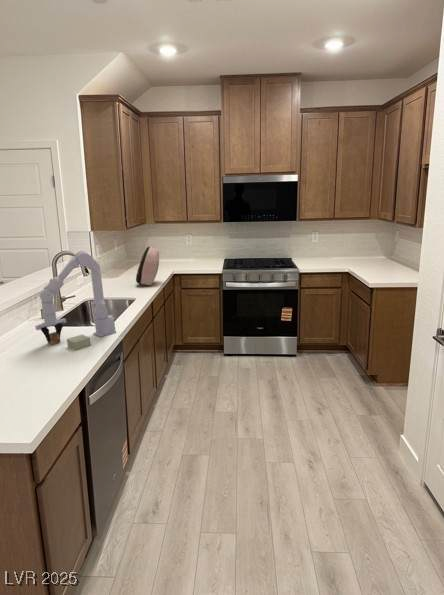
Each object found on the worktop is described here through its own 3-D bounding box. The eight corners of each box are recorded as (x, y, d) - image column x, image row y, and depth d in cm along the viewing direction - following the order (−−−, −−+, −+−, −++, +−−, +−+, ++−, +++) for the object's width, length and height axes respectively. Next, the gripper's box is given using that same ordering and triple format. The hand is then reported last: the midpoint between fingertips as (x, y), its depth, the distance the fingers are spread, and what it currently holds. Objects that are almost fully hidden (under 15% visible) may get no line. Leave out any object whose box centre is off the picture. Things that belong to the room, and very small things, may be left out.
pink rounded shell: (138, 282, 337) (134, 245, 329) (162, 280, 339) (158, 244, 331) (135, 288, 316) (131, 249, 308) (161, 286, 318) (157, 247, 310)
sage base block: (83, 341, 205) (82, 334, 204) (91, 345, 200) (89, 337, 199) (67, 346, 200) (66, 338, 199) (75, 350, 194) (74, 342, 193)
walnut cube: (56, 340, 209) (55, 331, 208) (60, 342, 206) (59, 333, 205) (47, 342, 206) (46, 334, 205) (51, 344, 203) (50, 336, 202)
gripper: (60, 309, 210) (64, 334, 213) (31, 316, 200) (35, 342, 203) (66, 311, 205) (70, 336, 208) (37, 318, 195) (41, 345, 198)
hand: (53, 339), depth 206 cm, fingers closed on walnut cube, 4 cm apart
